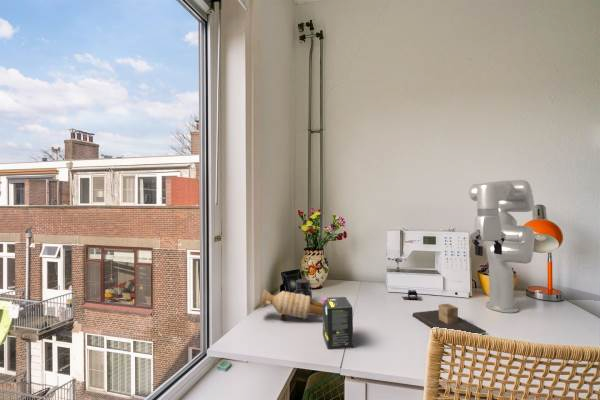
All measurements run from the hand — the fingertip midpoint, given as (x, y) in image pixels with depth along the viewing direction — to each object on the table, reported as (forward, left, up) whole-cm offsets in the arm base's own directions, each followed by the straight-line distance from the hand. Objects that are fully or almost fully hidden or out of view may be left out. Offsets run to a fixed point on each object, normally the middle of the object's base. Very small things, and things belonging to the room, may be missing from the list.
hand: (488, 254), depth 122 cm
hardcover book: (+18, -4, -29) cm, 35 cm away
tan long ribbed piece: (+76, -26, -29) cm, 85 cm away
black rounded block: (+11, -36, -29) cm, 47 cm away
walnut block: (+17, -4, -27) cm, 32 cm away
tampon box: (+66, -3, -29) cm, 72 cm away
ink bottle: (+68, -43, -28) cm, 85 cm away
